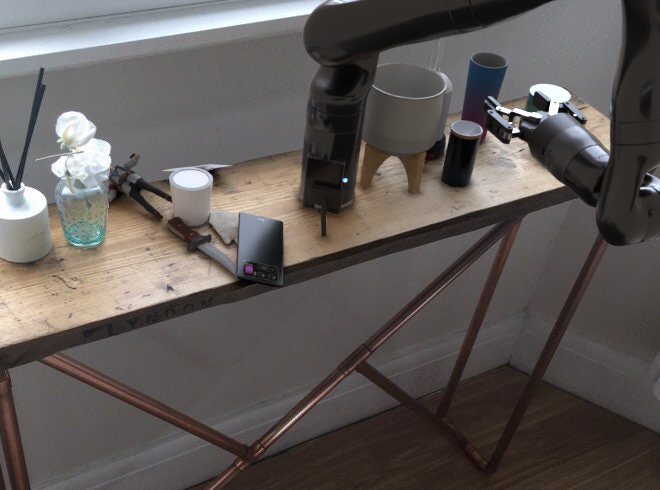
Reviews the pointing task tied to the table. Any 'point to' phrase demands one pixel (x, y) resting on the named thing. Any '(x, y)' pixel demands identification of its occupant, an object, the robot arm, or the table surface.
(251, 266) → the smartphone
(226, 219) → the arrowhead
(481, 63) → the cup
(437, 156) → the white tall piece
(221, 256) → the knife
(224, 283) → the table surface
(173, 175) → the white cylinder
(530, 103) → the squat tin
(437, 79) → the planter
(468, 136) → the tall tin
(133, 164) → the action figure
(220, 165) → the diorama
